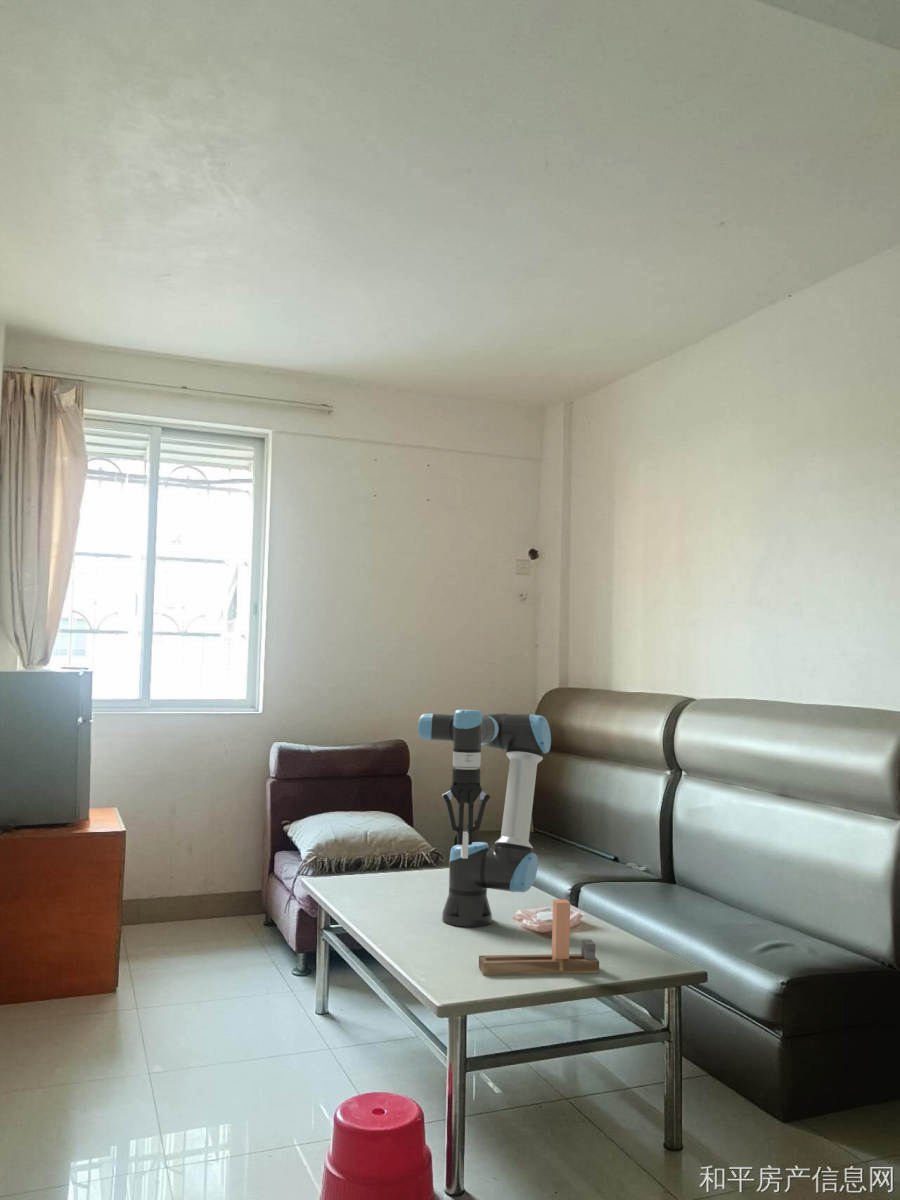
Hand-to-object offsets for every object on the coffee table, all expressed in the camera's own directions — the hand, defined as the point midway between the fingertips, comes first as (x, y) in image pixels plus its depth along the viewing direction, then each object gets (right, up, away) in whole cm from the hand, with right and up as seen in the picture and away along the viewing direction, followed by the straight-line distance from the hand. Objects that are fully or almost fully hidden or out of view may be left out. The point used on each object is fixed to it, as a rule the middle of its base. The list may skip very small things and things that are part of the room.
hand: (464, 857), depth 246 cm
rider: (+24, -26, -9) cm, 37 cm away
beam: (+19, -26, -10) cm, 34 cm away
